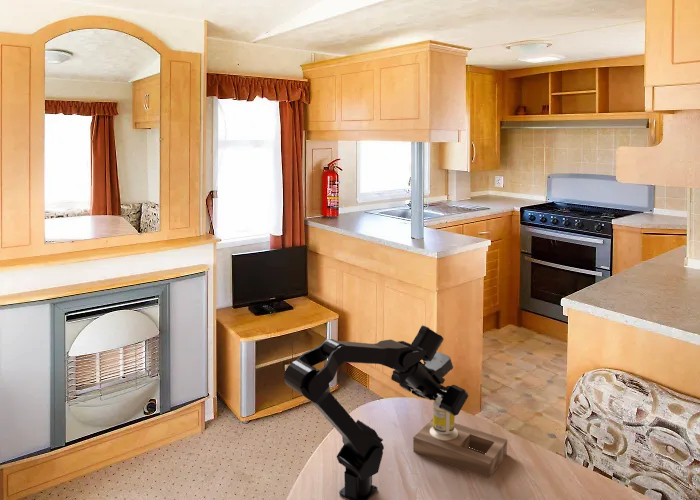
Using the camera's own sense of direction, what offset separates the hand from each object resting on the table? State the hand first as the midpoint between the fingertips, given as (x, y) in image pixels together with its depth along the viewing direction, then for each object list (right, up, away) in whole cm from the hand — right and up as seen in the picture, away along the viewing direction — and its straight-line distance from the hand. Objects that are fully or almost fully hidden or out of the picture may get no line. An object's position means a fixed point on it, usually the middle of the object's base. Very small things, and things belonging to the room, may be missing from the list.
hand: (447, 403), depth 136 cm
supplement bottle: (-1, -7, +1) cm, 7 cm away
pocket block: (+3, -12, -1) cm, 13 cm away
